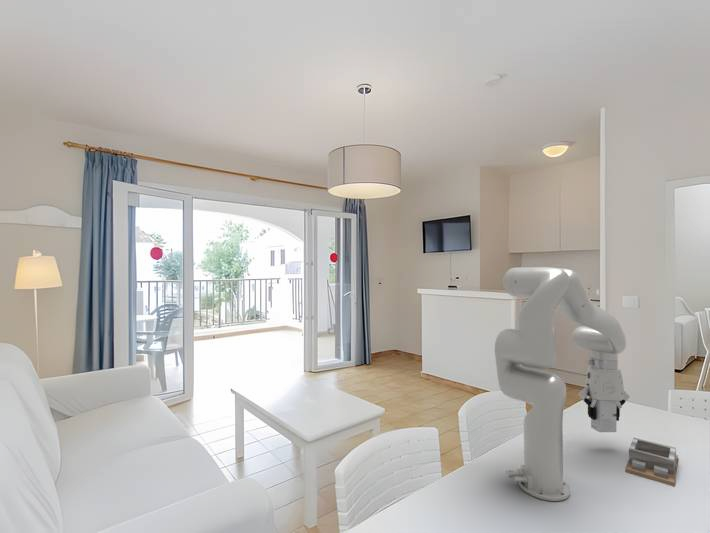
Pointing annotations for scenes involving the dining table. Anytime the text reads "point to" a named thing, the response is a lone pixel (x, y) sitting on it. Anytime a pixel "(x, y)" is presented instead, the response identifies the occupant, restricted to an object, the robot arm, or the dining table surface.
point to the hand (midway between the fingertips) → (603, 418)
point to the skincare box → (605, 416)
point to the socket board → (652, 461)
